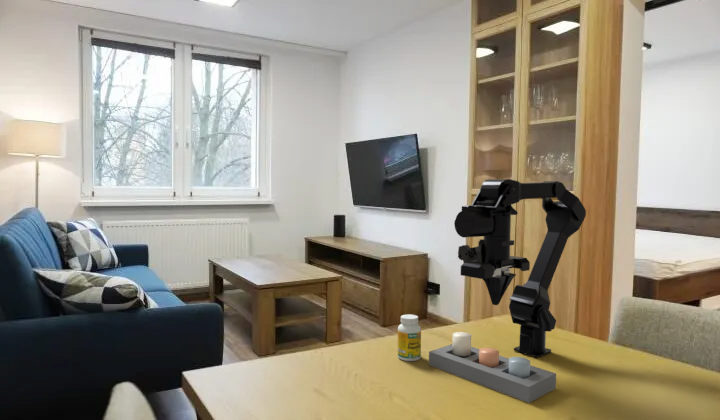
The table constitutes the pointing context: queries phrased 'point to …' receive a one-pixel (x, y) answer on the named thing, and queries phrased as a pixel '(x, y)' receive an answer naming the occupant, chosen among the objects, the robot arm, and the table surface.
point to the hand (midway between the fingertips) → (495, 304)
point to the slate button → (519, 367)
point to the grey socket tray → (494, 374)
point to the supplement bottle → (409, 338)
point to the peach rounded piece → (489, 357)
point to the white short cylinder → (461, 344)
